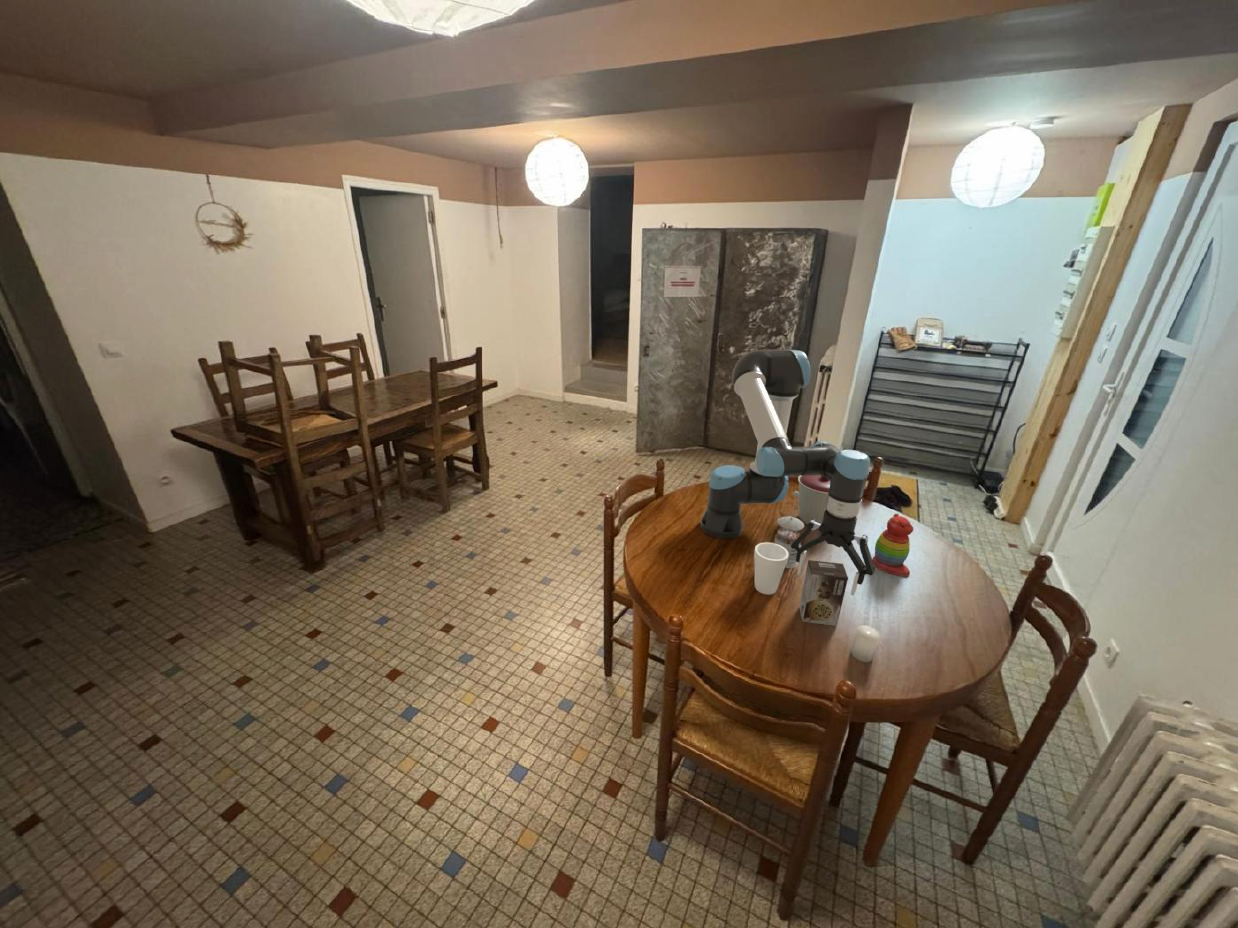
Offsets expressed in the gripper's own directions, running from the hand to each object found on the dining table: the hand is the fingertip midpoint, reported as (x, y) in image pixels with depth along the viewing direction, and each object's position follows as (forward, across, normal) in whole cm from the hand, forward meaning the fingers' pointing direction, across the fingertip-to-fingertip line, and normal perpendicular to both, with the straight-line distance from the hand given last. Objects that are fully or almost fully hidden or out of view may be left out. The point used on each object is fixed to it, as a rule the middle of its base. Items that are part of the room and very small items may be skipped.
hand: (825, 582), depth 124 cm
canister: (+11, -16, +53) cm, 57 cm away
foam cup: (+12, -16, +3) cm, 20 cm away
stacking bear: (+12, +11, +39) cm, 42 cm away
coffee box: (+12, 0, 0) cm, 12 cm away
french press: (+12, -17, +22) cm, 31 cm away
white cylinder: (+12, +13, -7) cm, 19 cm away
